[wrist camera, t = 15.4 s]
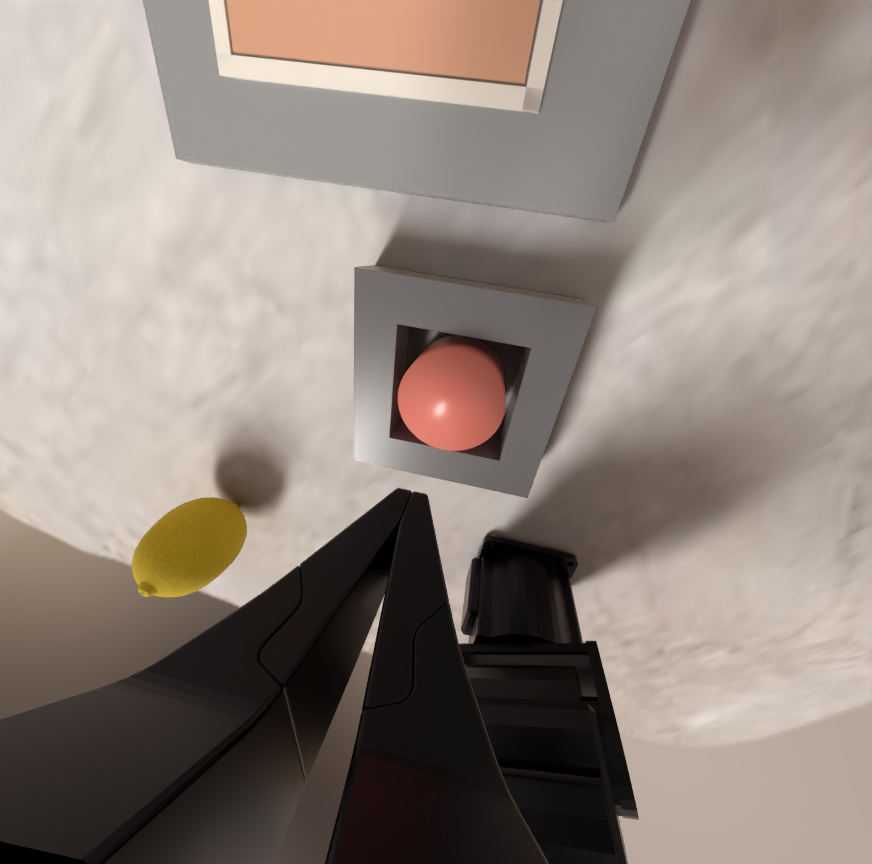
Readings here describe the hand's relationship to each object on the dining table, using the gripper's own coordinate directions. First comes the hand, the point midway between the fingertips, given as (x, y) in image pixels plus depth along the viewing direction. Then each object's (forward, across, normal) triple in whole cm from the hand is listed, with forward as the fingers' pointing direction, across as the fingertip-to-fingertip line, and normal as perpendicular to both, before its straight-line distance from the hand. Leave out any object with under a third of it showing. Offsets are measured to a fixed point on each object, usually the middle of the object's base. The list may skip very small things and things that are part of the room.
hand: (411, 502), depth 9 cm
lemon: (+11, +16, +14) cm, 24 cm away
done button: (+10, 0, 0) cm, 10 cm away
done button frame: (+10, 0, 0) cm, 10 cm away
